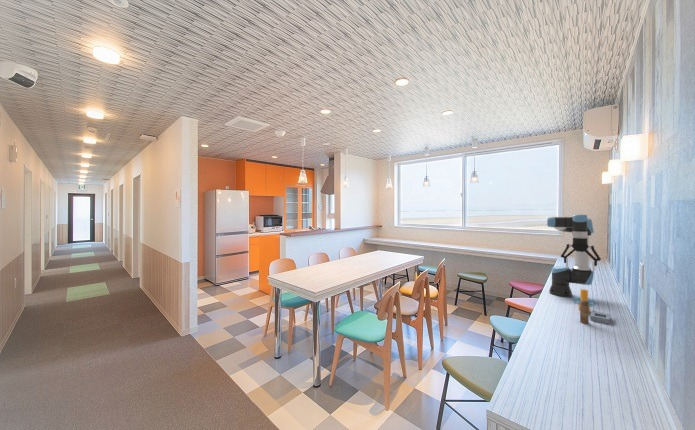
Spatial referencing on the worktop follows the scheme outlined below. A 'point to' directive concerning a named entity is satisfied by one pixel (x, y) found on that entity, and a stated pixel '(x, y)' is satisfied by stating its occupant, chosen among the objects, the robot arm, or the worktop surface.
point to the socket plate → (600, 317)
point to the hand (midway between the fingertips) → (580, 269)
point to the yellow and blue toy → (584, 298)
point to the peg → (584, 311)
